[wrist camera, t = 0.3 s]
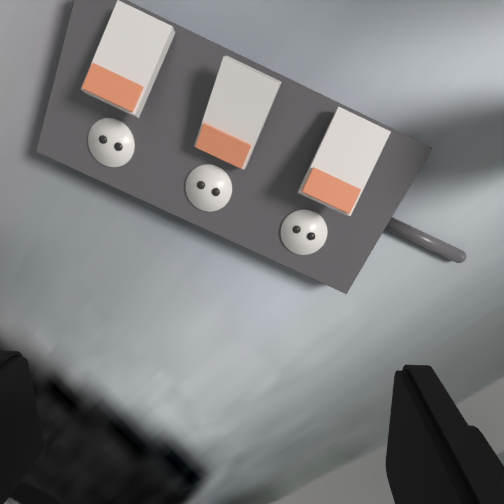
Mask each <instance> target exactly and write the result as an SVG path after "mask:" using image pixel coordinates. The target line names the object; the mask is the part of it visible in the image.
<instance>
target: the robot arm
mask: <svg viewBox="0 0 504 504" xmlns="http://www.w3.org/2000/svg"><path fill="white" fill-rule="evenodd" d="M43 445H44V442H43V436H42V431H41V426H40V421H39V416H38V411H37V405H36V400H35V395H34V390H33V385H32V380H31V375H30V370H29V365H28V361H27V359H26V358H24V357H23V356H22V354H21V353H20V352H18V351H0V504H4V503H5V501H6V500H7V499H8V498H9V496H10V495H11V493H12V492H13V491H14V490H15V488H16V487H17V486H18V485H19V483H20V482H21V481H22V479H23V478H24V477H25V475H26V474H27V473H28V472H29V470H30V469H31V468H32V466H33V465H34V464H35V462H36V461H37V460H38V459H39V457H40V455H41V453H42V450H43ZM386 472H387V477H388V481H389V485H390V488H391V491H392V495H393V498H394V502H395V504H504V466H503V464H502V463H501V461H500V460H499V458H498V457H497V455H496V454H495V452H494V451H493V449H492V448H491V446H490V445H489V443H488V442H487V440H486V439H485V437H484V436H483V434H482V433H481V432H480V431H479V429H478V428H476V427H474V426H468V424H467V423H466V421H465V419H464V418H463V416H462V415H461V413H460V412H459V410H458V408H457V407H456V405H455V404H454V402H453V400H452V399H451V397H450V396H449V394H448V392H447V391H446V389H445V388H444V386H443V384H442V383H441V381H440V380H439V378H438V377H437V375H436V373H435V372H434V370H433V369H432V367H431V366H428V365H404V367H403V370H402V371H396V372H395V377H394V387H393V396H392V406H391V415H390V425H389V435H388V444H387V454H386Z"/></svg>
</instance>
